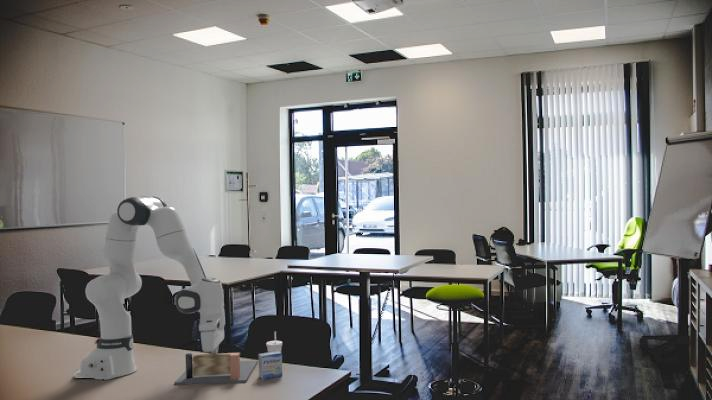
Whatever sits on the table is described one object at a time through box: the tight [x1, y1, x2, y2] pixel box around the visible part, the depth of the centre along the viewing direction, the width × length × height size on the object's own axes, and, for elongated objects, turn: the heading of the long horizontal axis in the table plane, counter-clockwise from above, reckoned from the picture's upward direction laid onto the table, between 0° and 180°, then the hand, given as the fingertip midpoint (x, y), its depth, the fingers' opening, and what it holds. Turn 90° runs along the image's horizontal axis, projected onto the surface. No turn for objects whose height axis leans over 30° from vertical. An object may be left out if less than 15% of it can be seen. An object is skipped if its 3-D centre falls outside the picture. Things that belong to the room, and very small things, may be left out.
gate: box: [192, 352, 241, 376], centre depth 203 cm, size 17×2×8 cm, turn 93°
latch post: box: [230, 352, 241, 379], centre depth 199 cm, size 3×2×10 cm
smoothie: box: [265, 331, 283, 353], centre depth 214 cm, size 6×6×14 cm
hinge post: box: [185, 352, 193, 379], centre depth 202 cm, size 2×2×10 cm
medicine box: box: [257, 351, 283, 380], centre depth 203 cm, size 8×4×9 cm, turn 117°
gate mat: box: [173, 359, 259, 385], centre depth 209 cm, size 26×24×1 cm
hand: (215, 357), depth 204 cm, fingers closed
